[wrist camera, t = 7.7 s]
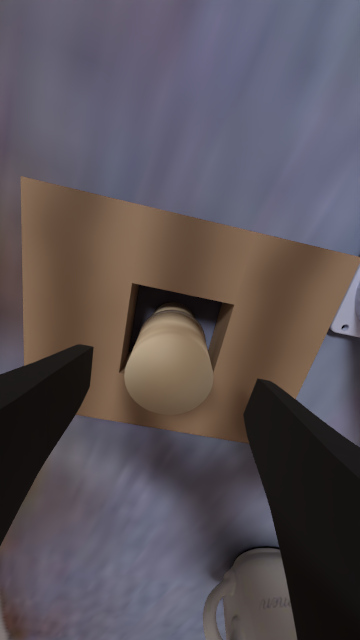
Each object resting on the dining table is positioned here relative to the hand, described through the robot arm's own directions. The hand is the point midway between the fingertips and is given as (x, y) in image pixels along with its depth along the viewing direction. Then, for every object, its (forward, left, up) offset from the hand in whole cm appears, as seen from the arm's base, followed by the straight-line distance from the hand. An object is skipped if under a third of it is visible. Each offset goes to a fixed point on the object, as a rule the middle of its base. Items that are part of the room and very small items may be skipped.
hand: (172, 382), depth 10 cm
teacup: (-15, +27, -8) cm, 32 cm away
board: (0, 0, -7) cm, 7 cm away
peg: (0, 0, -7) cm, 7 cm away
